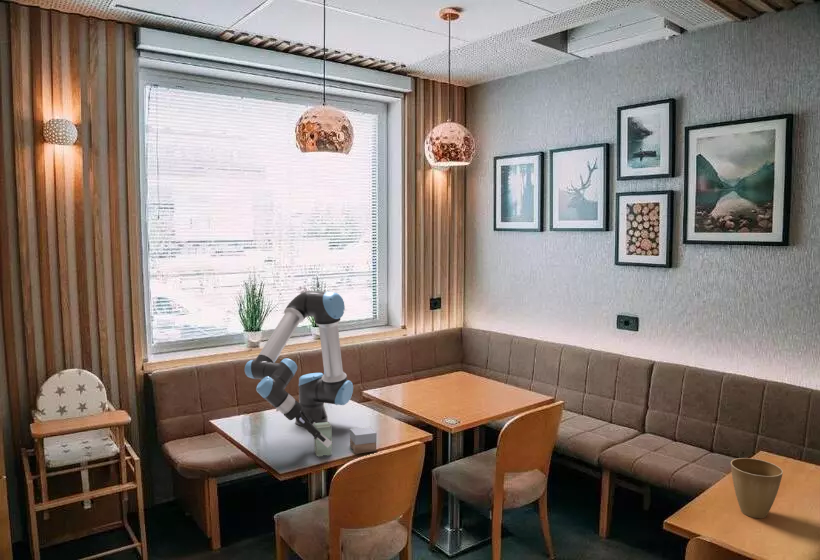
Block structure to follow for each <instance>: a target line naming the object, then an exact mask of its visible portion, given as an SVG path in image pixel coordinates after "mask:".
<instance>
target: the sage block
mask: <svg viewBox="0 0 820 560" xmlns="http://www.w3.org/2000/svg"><path fill="white" fill-rule="evenodd" d="M314 427H315V428H316V429H317V430H318V431H319V432H321V433H322V434H323V435H324V436H326V437H327V438H328V439H329V440H330V441H331V442H332V444H331V445H330V446H329V447H328V448H327V447H326V446H325V445H324V444H323V443H321V442H320V441H319V440H318V439H317V438H316V439H314V438H315V437H314V436H313V440H314V444H313V445H314V446H313V447H314V448H313V449H314V451H315V452H314V454H315V455H316V457H317V456H318V457H324V456H323V455H327V456H332V455H333V449H332V445H333V441H332V439H333V438H332V434H333V432H332V428H333V427H332V424H331V423H330V422H329V421H327V422H323V423H314ZM316 434H317V433H316ZM316 434H315V435H316ZM331 454H332V455H331Z"/></svg>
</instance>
